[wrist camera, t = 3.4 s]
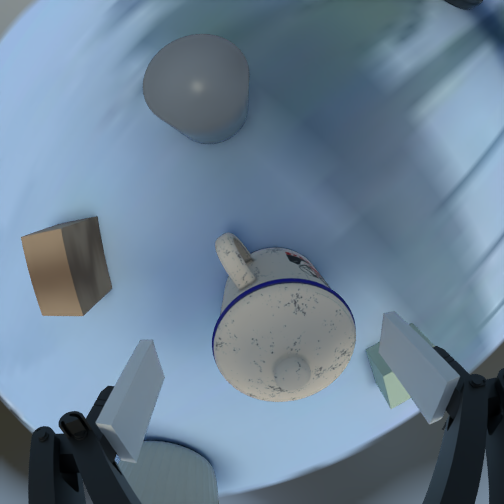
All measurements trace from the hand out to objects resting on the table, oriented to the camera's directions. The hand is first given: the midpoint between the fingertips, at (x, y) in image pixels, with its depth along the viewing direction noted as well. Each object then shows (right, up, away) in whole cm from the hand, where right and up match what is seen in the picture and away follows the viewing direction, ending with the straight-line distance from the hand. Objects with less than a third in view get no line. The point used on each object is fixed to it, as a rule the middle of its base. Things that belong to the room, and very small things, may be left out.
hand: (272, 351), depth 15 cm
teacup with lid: (0, +3, +10) cm, 10 cm away
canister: (-13, -26, +17) cm, 34 cm away
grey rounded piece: (-4, +17, +6) cm, 19 cm away
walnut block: (-17, +5, +9) cm, 20 cm away
